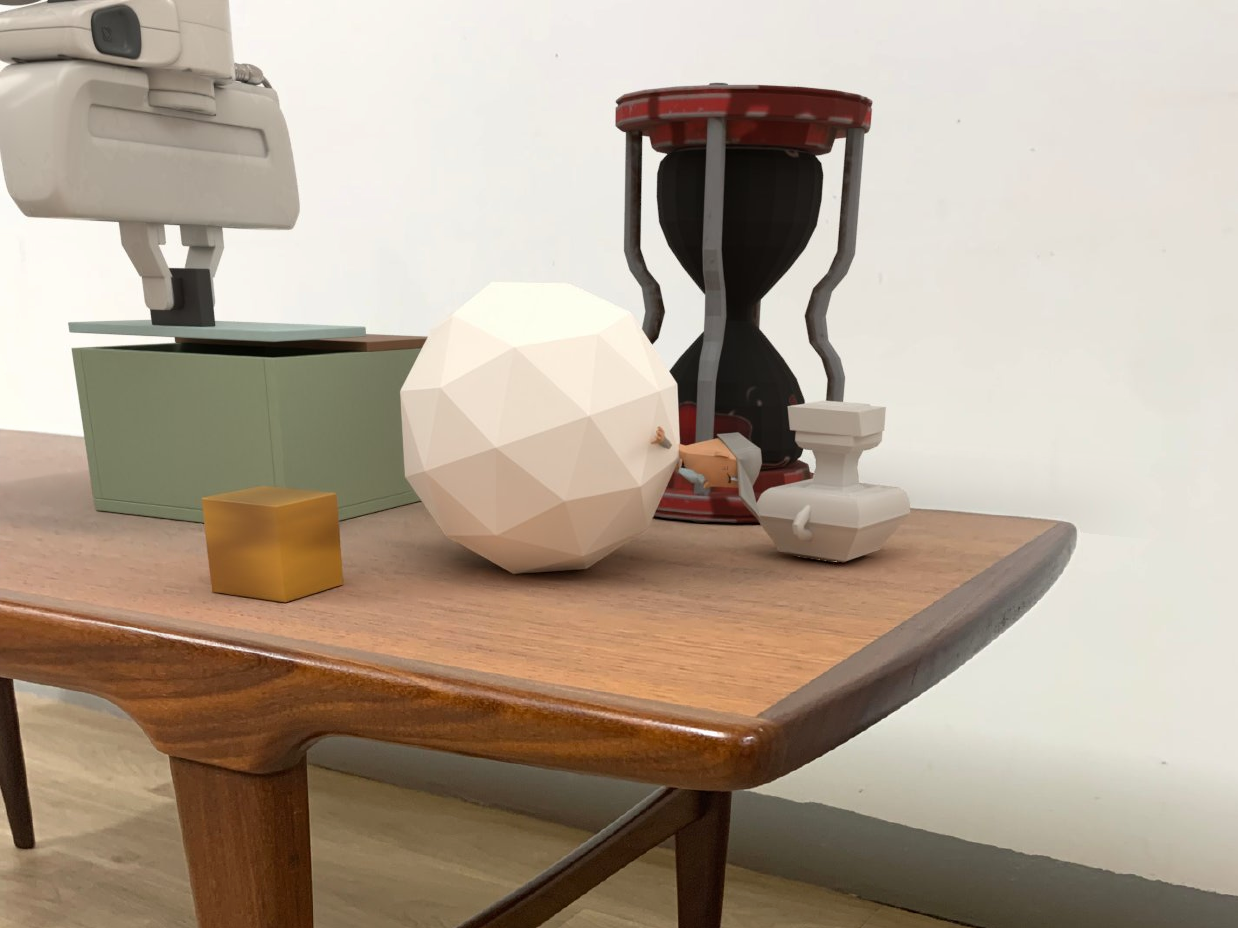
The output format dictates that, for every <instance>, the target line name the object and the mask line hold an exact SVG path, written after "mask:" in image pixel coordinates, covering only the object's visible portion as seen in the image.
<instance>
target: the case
mask: <svg viewBox="0 0 1238 928" xmlns="http://www.w3.org/2000/svg"><path fill="white" fill-rule="evenodd" d="M173 338H174V342H163V343H161V342H160V343H159V342H158V343H142V344H121V345H103V346H85V347H84V346H82V347H80V346H79V347H71V355H72V362H73V369H74V376H75V382H76V389H77V397H78V404H79V411H80V417H81V424H82V425H81V426H82V431H83V438H84V445H85V451H86V458H87V466H88V472H89V477H90V478H89V479H90V486H91V492H92V498H93V502H94V503H93V505H94V510H95V511H98V512H106V513H107V512H108V513H117V514H124V515H125V514H126V515H133V516H142V517H149V518H158V519H167V520H176V521H183V522H191V523H201V524H204V517H203V508H202V498H203V497H208V496H214V495H219V494H224V493H229V492H234V491H239V490H245V489H250V488H255V487H260V486H272V487H282V488H292V489H302V490H312V491H322V492H332V493H337V504H338V518H339V522H340V521H344V520H348V519H352V518H356V517H361V516H364V515H369V514H373V513H376V512H381V511H385V510H389V509H393V508H397V507H400V506H405V505H409V504H414V503H417V502H422V501H421V499H420V498H419V497H418V495H417V494H416V492H415V491H414V489H413V488H412V486H411V485H410V483H409V482H408V481H407V479H406V478H405V469H404V451H403V434H402V416H401V399H400V390H401V388H402V386H403V385H404V383H405V381H406V379H407V377H408V375H409V373H410V371H411V369H412V367H413V365H414V363H415V361H416V359H417V357H418V355H419V353H420V351H421V349H422V347H423V345H424V343H425V341H426V340H427V338H428V336H427V335H425V336H424V335H423V336H422V335H401V334H400V335H399V334H397V335H396V334H379V333H378V334H377V333H366V337H353V338H335V339H316V340H298V341H280V342H265V341H243V340H222V339H200V338H179V337H173Z"/></svg>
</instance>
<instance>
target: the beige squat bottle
mask: <svg viewBox="0 0 1238 928" xmlns="http://www.w3.org/2000/svg"><path fill="white" fill-rule="evenodd" d="M886 410H887V407H886V406H878V405H877V406H876V405H871V404H870V403H860V402H846V401H843V402H836V401H826V400H819V401H812V402H805V404H800V405H793V406H788V415H789V425H790V430H796V436H795V442H796V443H797V444H798V446H799V447H801V448H803V450H806V451H812V454H813V457H814V459H815V468H814V472H813V473H814V475H813V479H808V480H804V481H800V482H795V483H791V484H786V485H782V486H777V487H773V488H769V489H768V490H766V491H764V492H763V493H762V494H761V496H760V498H759V500H758V502H757V507H758V511H759V515H760V518H761V520H760V519H758V518H757V519H758V520H759V522H758V523H759V524H760V526H761V527H762V529H763V530H764V531H765V532H766V534H767V536H769V538H770V539H771V540H772V542H773V543H774V544H775V546H776V548H777V550H778V551H777V552H781V553H784V554H787V555H790V556H793V557H796V556H800V557H799V558H801V557H806V558H805V559H808V558H813V559H812V560H814V559H820V560H819V561H821V560H826V561H825V562H828V561H837V562H842V563H846V562H847V561H851V560H853V559H857V558H860V557H862V556H865V555H868V554H871V553H874V552H878V551H880V550H882V548H883V546H884V545H885V543H886V542H887V541H888V540H889V539H890V538H891V537H892V535H893V534H894V533H895V532H897V530H898V529H899V527H901V525H902V524H903V523H904V521H905V520H906V519H907V517H908V516H909V515H910V514H911V502H910V499H909V496H908V494H907V492H906V491H905V490H904V489H903V488H901V487H900V486H899V487H898V486H892V485H880V484H873V483H872V484H871V483H867V482H866V483H864V482H859V481H860V478H859V476H860V475H859V469H858V467H859V459H860V458H861V456H862V454H863V452H865V451H869V450H871V449H872V450H873V449H874V448H876V447H878V446H880V444H881V443H882V441H883V432H884V431H885V424H886Z"/></svg>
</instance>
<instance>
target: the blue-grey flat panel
mask: <svg viewBox="0 0 1238 928" xmlns="http://www.w3.org/2000/svg"><path fill="white" fill-rule="evenodd" d="M168 268H169V270H170V272H171V274H172V277H174V278H182V282H183V292H182V295H183V296H184V301H185V304H184V307H183V308H182V309H179V310H151V309H149V314H150V319H130V320H129V319H128V320H126V319H125V320H124V319H123V320H95V321H94V320H93V321H69V322H67V326H68V332H69V333H72V334H95V335H114V336H115V335H117V336H139V337H159V338H160V337H161V338H174V337H179V338H200V339H222V340H243V341H265V342H280V341H298V340H316V339H335V338H353V337H366V334H367V328H366V326H358V325H357V326H356V325H335V324H334V325H333V324H332V325H331V324H310V323H309V324H307V323H306V324H305V323H283V322H280V323H279V322H255V321H235V320H234V321H230V320H216V318H215V308H214V307H215V306H213V296H212V287H211V277H210V269H203V268H185V267H168Z"/></svg>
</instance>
